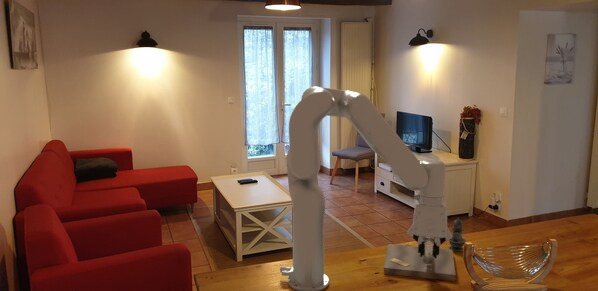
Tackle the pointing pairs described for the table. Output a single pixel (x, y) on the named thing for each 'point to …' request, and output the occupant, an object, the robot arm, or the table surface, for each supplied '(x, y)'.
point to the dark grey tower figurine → (457, 237)
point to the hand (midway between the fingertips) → (428, 255)
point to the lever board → (418, 263)
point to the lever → (428, 250)
